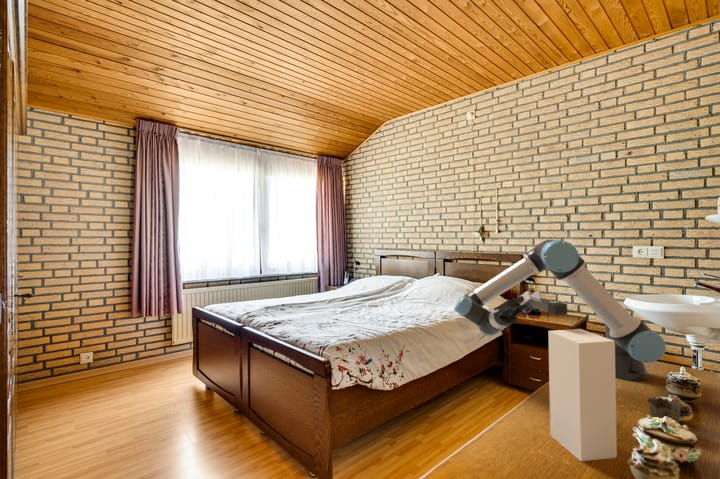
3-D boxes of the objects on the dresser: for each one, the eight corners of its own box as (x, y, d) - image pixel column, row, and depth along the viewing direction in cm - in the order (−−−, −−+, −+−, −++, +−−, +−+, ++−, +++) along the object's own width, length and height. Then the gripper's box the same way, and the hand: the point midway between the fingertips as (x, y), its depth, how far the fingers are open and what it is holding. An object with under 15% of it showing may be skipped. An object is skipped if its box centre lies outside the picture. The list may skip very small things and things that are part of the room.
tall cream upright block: (582, 432, 104) (580, 328, 104) (616, 457, 92) (614, 340, 92) (550, 435, 103) (548, 330, 103) (581, 461, 91) (578, 343, 91)
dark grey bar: (526, 302, 125) (526, 293, 125) (567, 314, 105) (567, 304, 105) (516, 302, 125) (515, 294, 125) (554, 315, 105) (554, 304, 105)
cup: (642, 426, 106) (641, 399, 106) (657, 421, 109) (656, 394, 109) (672, 439, 100) (671, 410, 100) (687, 433, 103) (686, 405, 102)
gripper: (525, 325, 137) (561, 304, 116) (485, 327, 135) (515, 306, 114) (519, 306, 140) (553, 282, 120) (480, 308, 138) (508, 284, 118)
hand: (534, 294), depth 117 cm, fingers closed on dark grey bar, 3 cm apart
